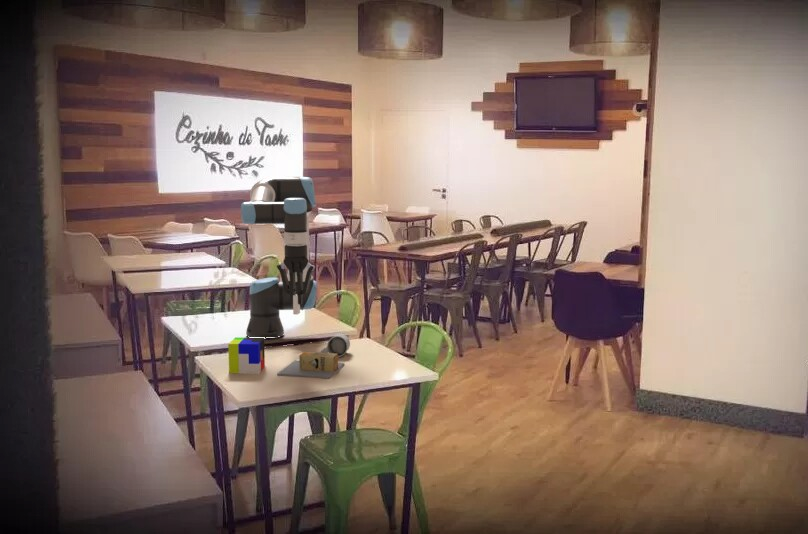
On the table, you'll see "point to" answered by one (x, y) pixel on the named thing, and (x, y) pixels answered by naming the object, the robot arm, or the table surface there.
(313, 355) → the shoe polish box
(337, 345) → the ceramic mug
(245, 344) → the puzzle toy
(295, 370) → the mat
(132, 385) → the table surface
